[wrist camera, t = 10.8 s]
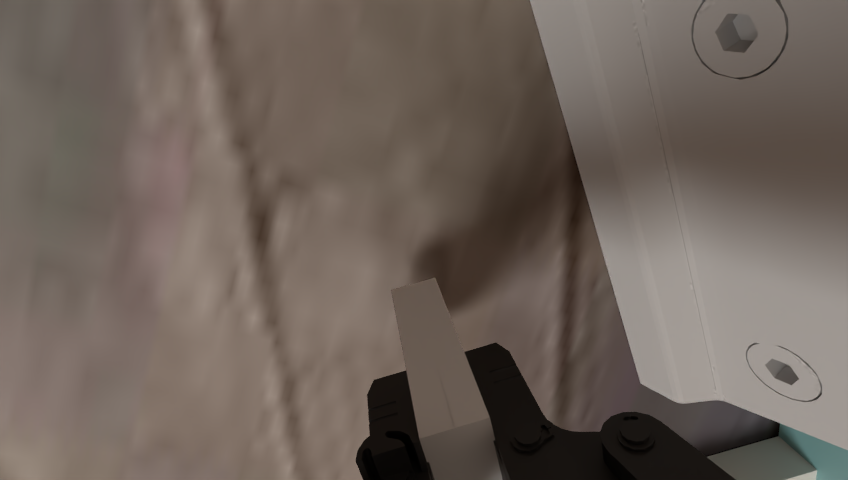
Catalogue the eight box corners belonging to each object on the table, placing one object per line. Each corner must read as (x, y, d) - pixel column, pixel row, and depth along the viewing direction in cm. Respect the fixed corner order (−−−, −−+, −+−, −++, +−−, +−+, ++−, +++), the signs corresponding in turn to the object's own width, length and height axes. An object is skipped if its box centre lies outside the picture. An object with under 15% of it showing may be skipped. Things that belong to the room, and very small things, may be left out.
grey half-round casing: (520, -31, 14) (1100, -305, 5) (632, -82, 15) (1237, -364, 7) (642, 390, 20) (993, 585, 12) (713, 327, 22) (1075, 458, 13)
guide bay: (385, -122, 13) (406, -223, 8) (907, -228, 14) (1197, -374, 9) (515, 543, 22) (559, 669, 18) (813, 456, 23) (928, 555, 19)
